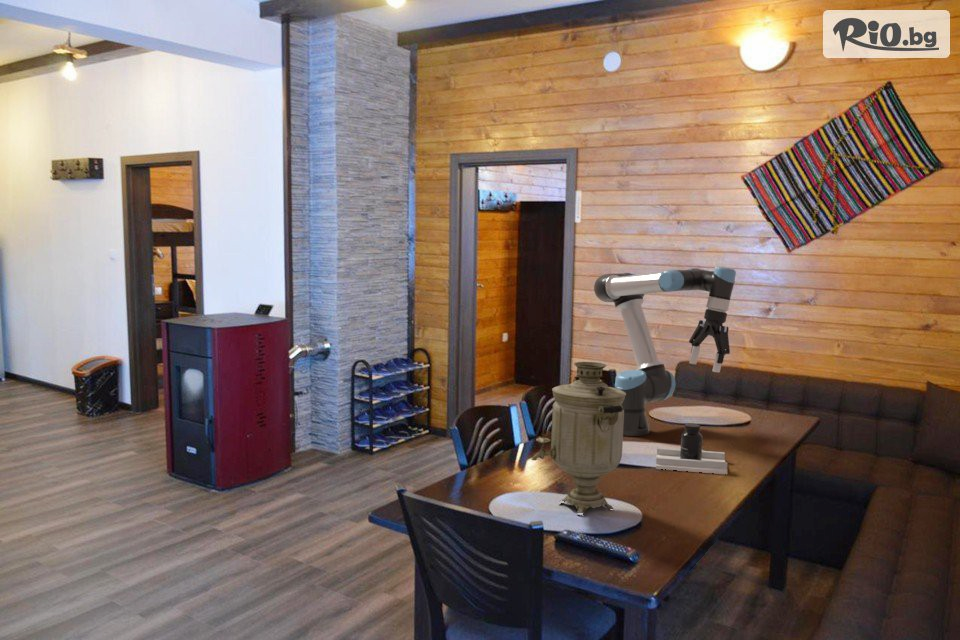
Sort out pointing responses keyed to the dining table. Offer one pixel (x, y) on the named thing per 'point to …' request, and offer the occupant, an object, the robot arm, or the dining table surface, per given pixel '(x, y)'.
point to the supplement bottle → (691, 442)
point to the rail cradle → (691, 461)
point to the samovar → (586, 433)
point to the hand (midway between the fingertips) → (704, 367)
